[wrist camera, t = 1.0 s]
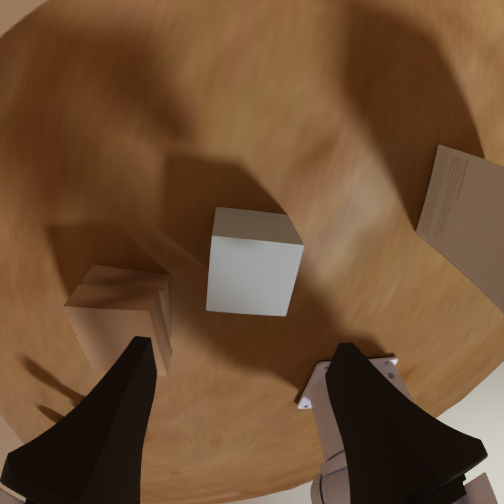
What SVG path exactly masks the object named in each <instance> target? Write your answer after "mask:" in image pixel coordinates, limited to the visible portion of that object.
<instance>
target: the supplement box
mask: <svg viewBox="0 0 504 504" xmlns="http://www.w3.org/2000/svg"><path fill="white" fill-rule="evenodd" d="M416 234H417V235H418V236H419V237H421V238H422V239H423V240H424V241H425V242H427V243H428V244H429V245H430V246H431V247H433V248H434V249H435V250H436V251H438V252H439V253H440V254H441V255H442V256H443V257H445V258H446V259H447V260H448V261H449V262H450V263H452V264H453V265H454V266H455V267H456V268H457V269H458V270H459V271H461V272H462V273H463V274H464V275H465V276H466V277H467V278H468V279H469V280H470V281H471V282H473V283H474V284H475V285H476V286H477V287H478V288H479V289H480V290H481V291H482V292H483V293H484V294H485V295H486V296H487V297H488V298H489V299H490V300H491V301H492V302H493V303H494V304H495V305H496V306H497V307H498V308H499V309H500V310H501V311H502V312H503V313H504V166H501V165H498V164H496V163H493V162H491V161H488V160H485V159H483V158H480V157H477V156H474V155H471V154H468V153H465V152H462V151H459V150H456V149H452V148H449V147H446V146H443V145H438V148H437V152H436V157H435V161H434V166H433V170H432V175H431V178H430V183H429V187H428V190H427V194H426V198H425V202H424V205H423V209H422V212H421V216H420V219H419V222H418V226H417V230H416Z"/></svg>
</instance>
